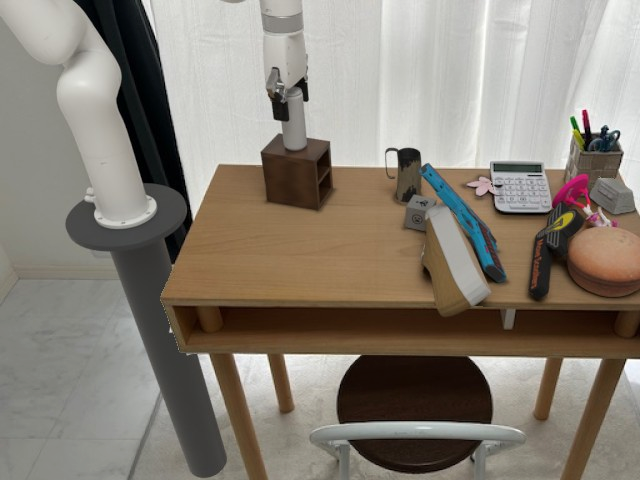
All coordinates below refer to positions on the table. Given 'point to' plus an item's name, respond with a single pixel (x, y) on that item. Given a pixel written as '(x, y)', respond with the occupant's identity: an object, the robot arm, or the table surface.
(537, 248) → the decorative sign
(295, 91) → the beverage can
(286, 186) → the divided wooden organizer
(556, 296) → the table surface
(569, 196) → the figurine
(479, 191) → the flower
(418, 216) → the dice cube
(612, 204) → the mineral specimen
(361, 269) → the table surface
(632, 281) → the round sponge cake
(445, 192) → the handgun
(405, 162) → the mug
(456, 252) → the sneaker
